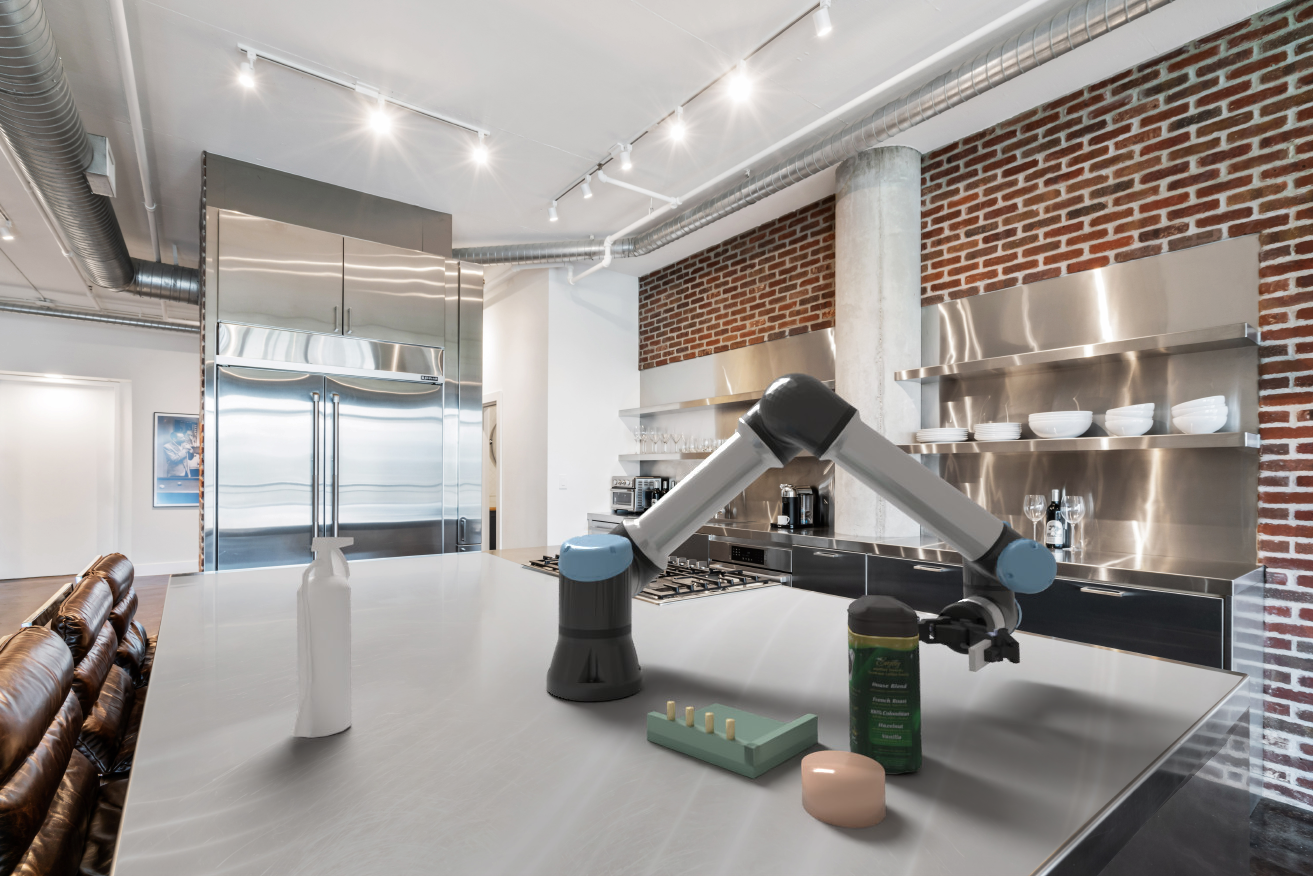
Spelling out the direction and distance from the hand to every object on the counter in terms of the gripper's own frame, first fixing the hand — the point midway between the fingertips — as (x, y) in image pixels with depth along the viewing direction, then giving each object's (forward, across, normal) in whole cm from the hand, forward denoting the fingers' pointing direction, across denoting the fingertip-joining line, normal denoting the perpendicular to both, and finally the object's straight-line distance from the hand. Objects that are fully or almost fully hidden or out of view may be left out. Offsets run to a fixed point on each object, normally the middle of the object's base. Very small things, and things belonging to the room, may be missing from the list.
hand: (916, 650), depth 85 cm
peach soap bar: (+24, -2, -11) cm, 27 cm away
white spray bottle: (+52, +57, -11) cm, 78 cm away
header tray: (+18, +16, -10) cm, 26 cm away
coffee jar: (+10, 0, -11) cm, 15 cm away
